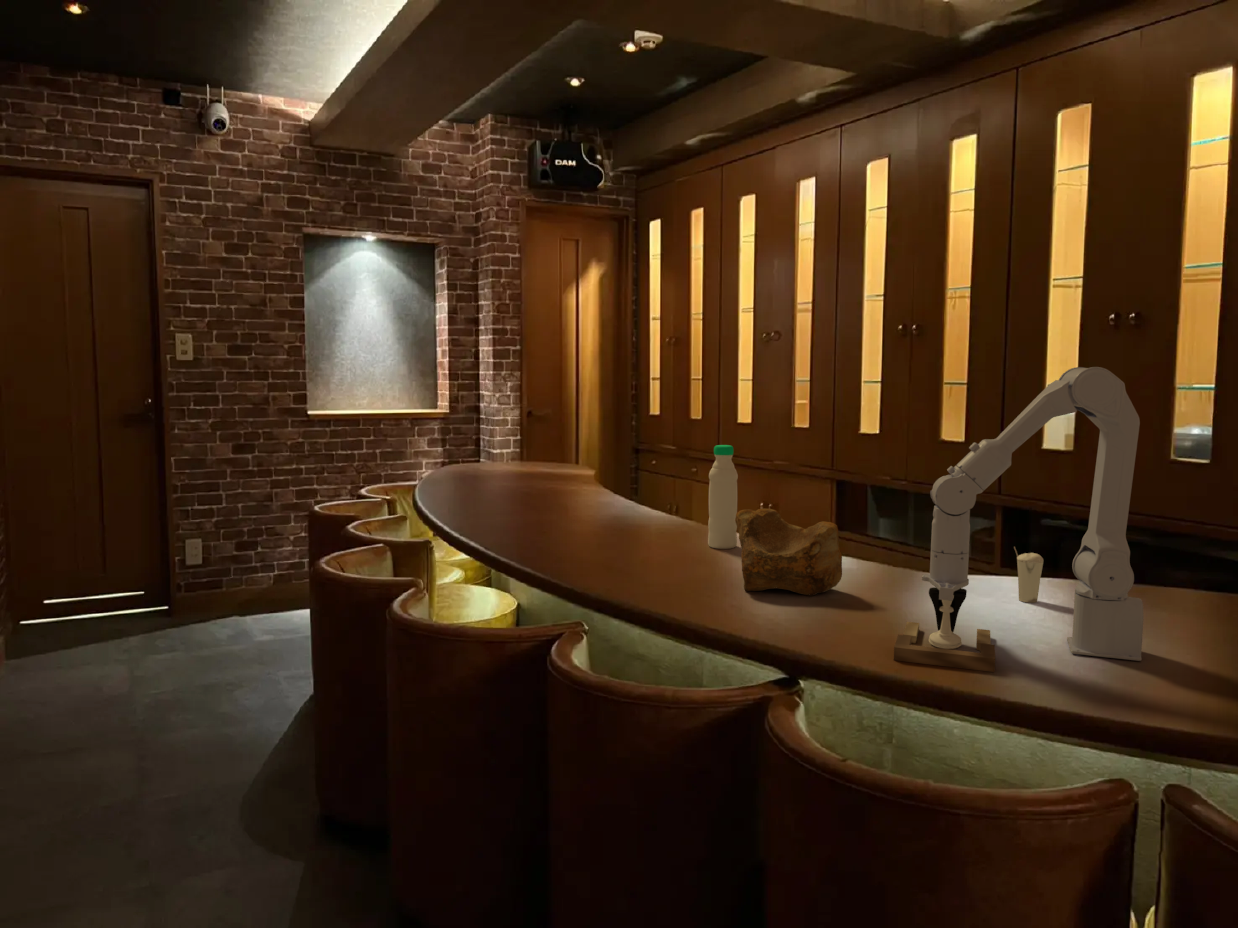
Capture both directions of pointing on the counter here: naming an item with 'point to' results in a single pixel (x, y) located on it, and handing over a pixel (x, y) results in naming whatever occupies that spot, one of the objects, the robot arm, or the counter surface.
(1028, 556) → the milkshake
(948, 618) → the chess piece
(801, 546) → the rough brown rock
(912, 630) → the pocket channel
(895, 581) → the counter surface
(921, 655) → the stop rail
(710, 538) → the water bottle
